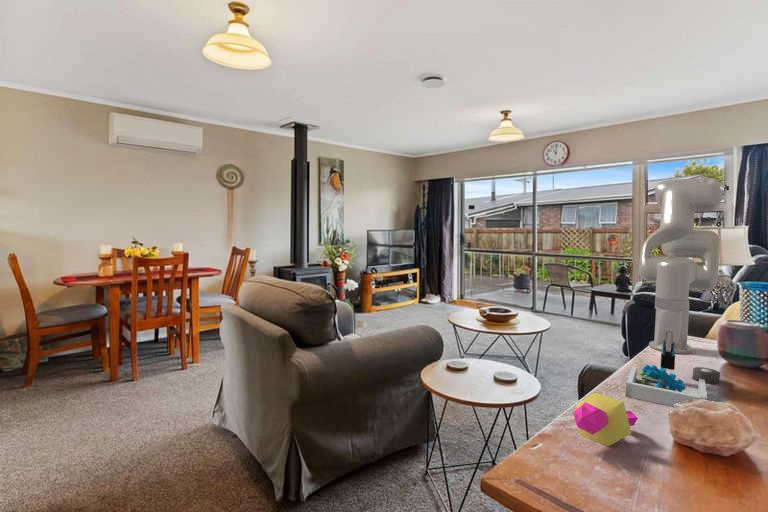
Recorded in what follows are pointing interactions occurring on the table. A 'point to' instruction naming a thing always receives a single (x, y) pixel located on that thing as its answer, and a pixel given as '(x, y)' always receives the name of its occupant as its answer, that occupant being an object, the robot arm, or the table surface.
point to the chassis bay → (660, 391)
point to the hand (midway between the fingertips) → (667, 368)
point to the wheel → (706, 375)
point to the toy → (603, 419)
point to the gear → (661, 378)
